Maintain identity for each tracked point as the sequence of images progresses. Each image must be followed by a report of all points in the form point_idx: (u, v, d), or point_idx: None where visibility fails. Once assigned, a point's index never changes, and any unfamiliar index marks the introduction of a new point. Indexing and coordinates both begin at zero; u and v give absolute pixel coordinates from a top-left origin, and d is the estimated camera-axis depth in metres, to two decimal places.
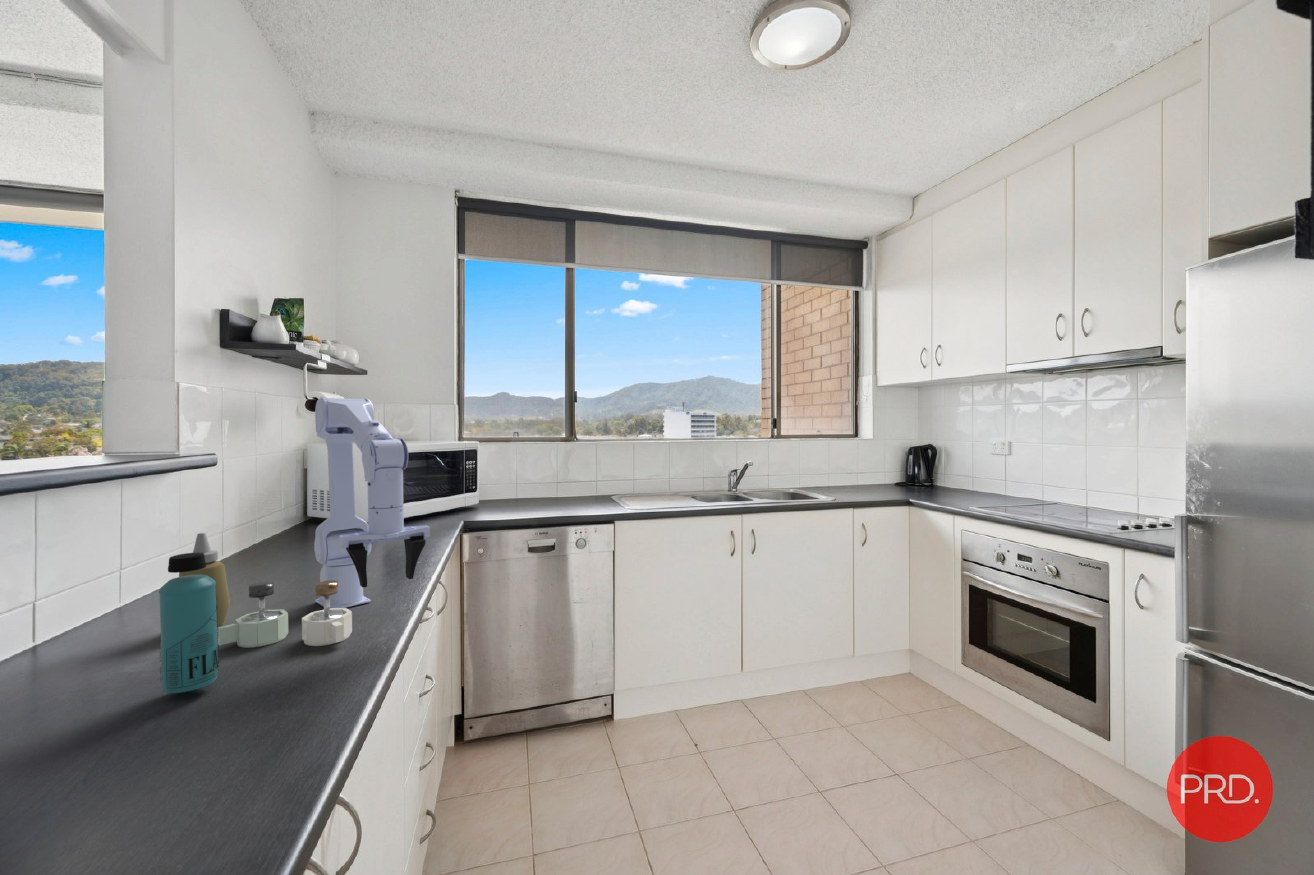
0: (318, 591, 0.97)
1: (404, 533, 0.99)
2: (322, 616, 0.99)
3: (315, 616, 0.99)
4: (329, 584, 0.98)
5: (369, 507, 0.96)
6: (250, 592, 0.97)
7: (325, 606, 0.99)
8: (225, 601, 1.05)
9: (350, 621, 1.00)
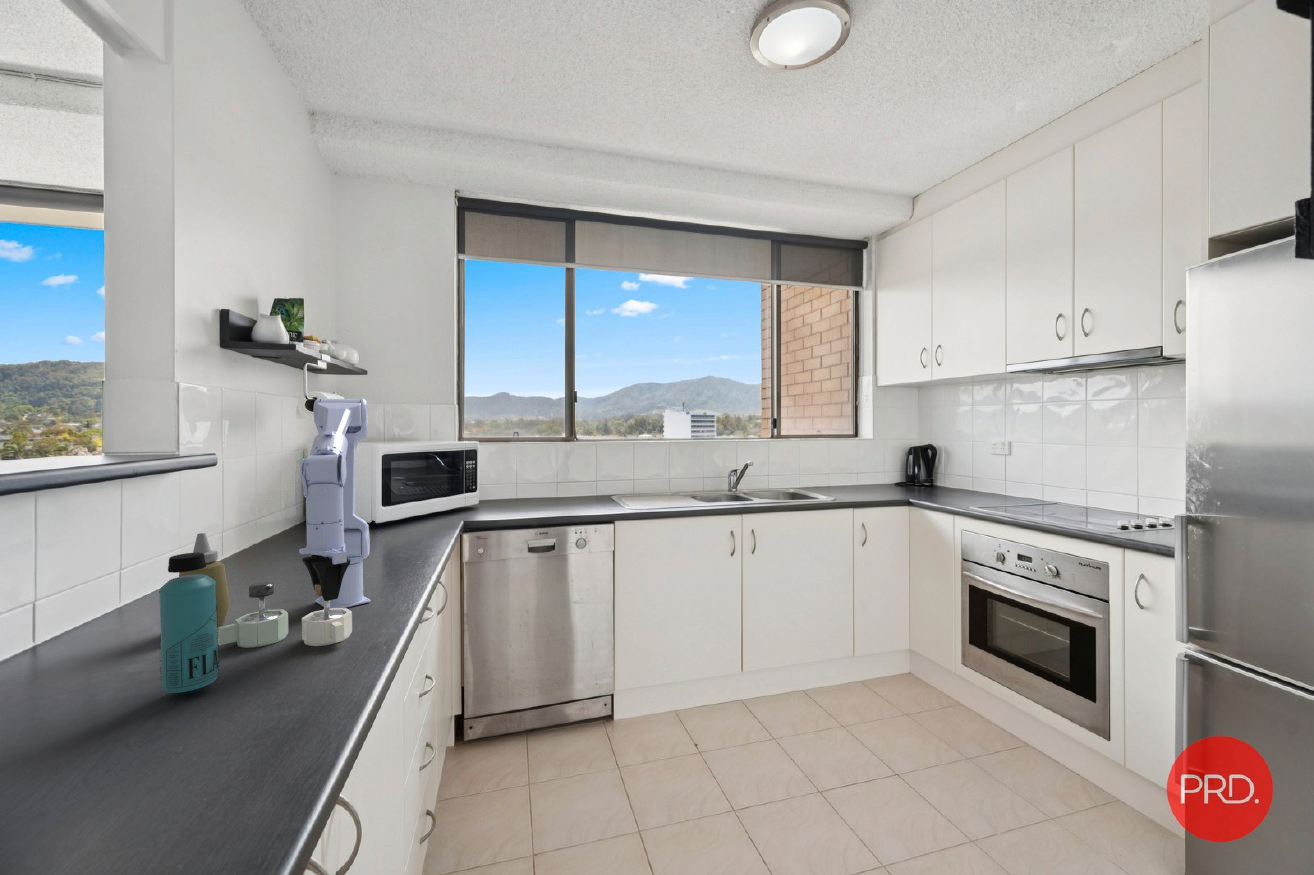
0: (318, 591, 0.97)
1: (315, 552, 0.95)
2: (322, 616, 0.99)
3: (315, 616, 0.99)
4: None
5: None
6: (250, 592, 0.97)
7: (325, 606, 0.99)
8: (225, 601, 1.05)
9: (350, 621, 1.00)
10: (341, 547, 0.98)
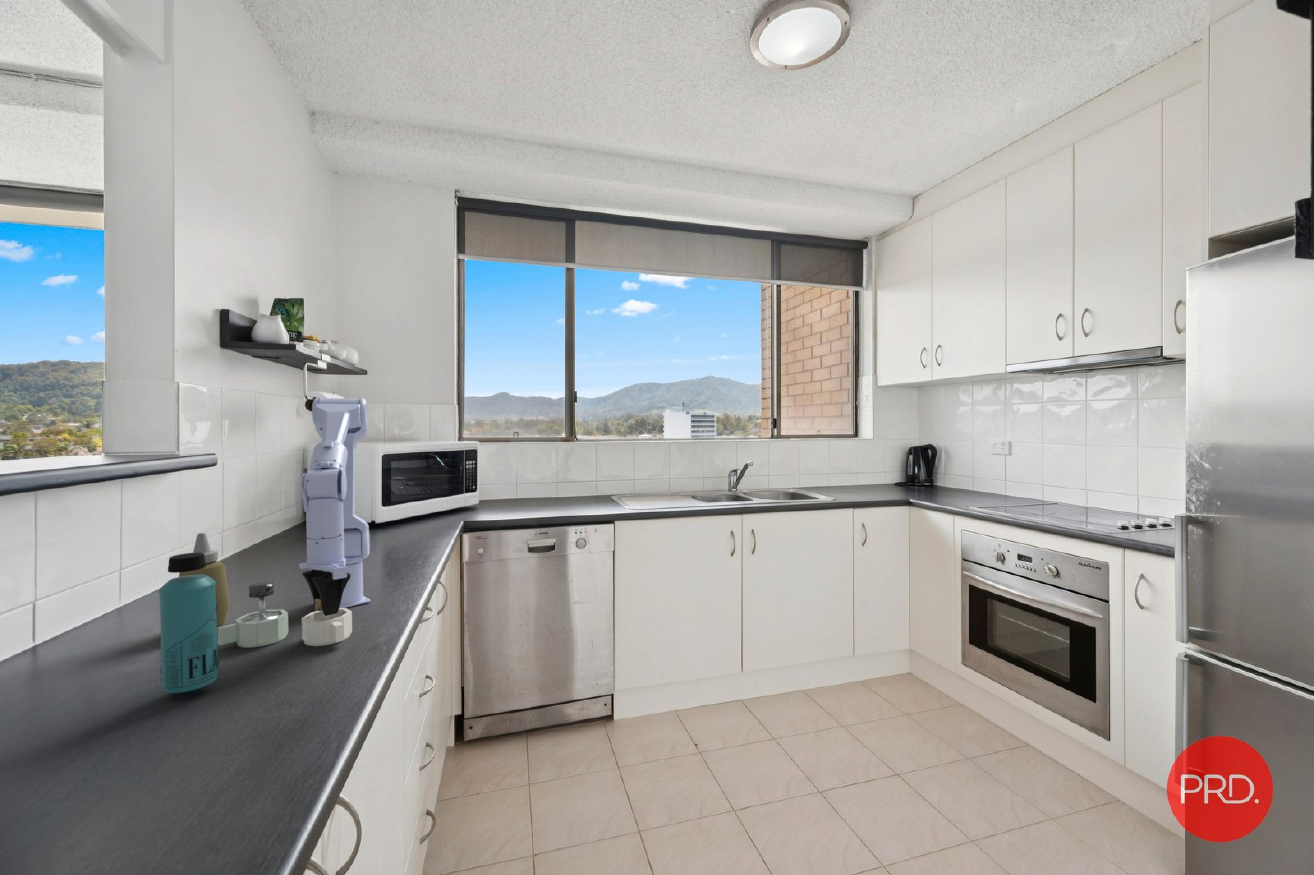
0: (319, 605, 0.97)
1: (315, 567, 0.95)
2: None
3: None
4: None
5: None
6: (250, 592, 0.97)
7: None
8: (225, 601, 1.05)
9: (350, 621, 1.00)
10: (341, 561, 0.98)
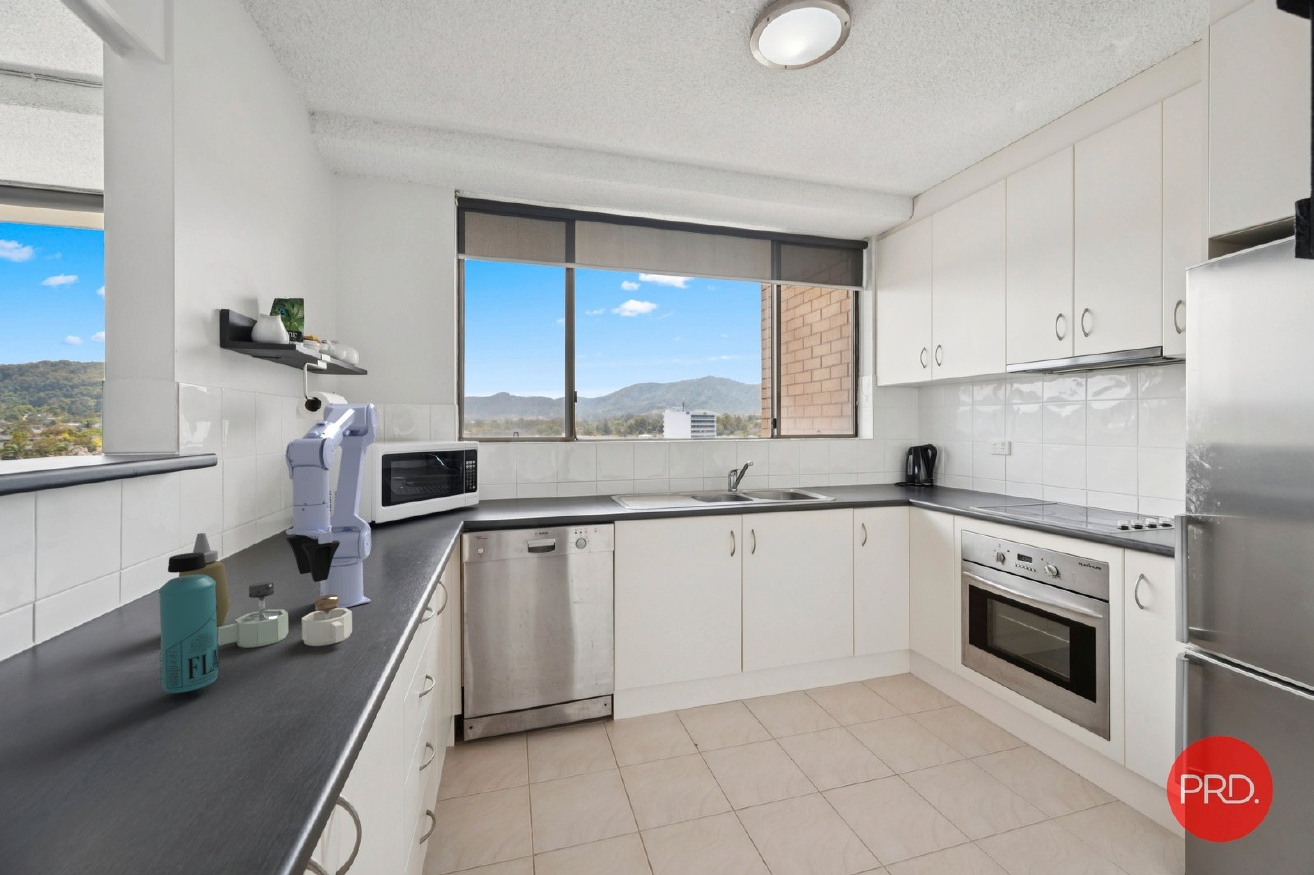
0: (319, 605, 0.97)
1: (301, 533, 0.98)
2: None
3: None
4: (329, 598, 0.98)
5: None
6: (250, 592, 0.97)
7: None
8: (225, 601, 1.05)
9: (350, 621, 1.00)
10: (327, 528, 1.01)
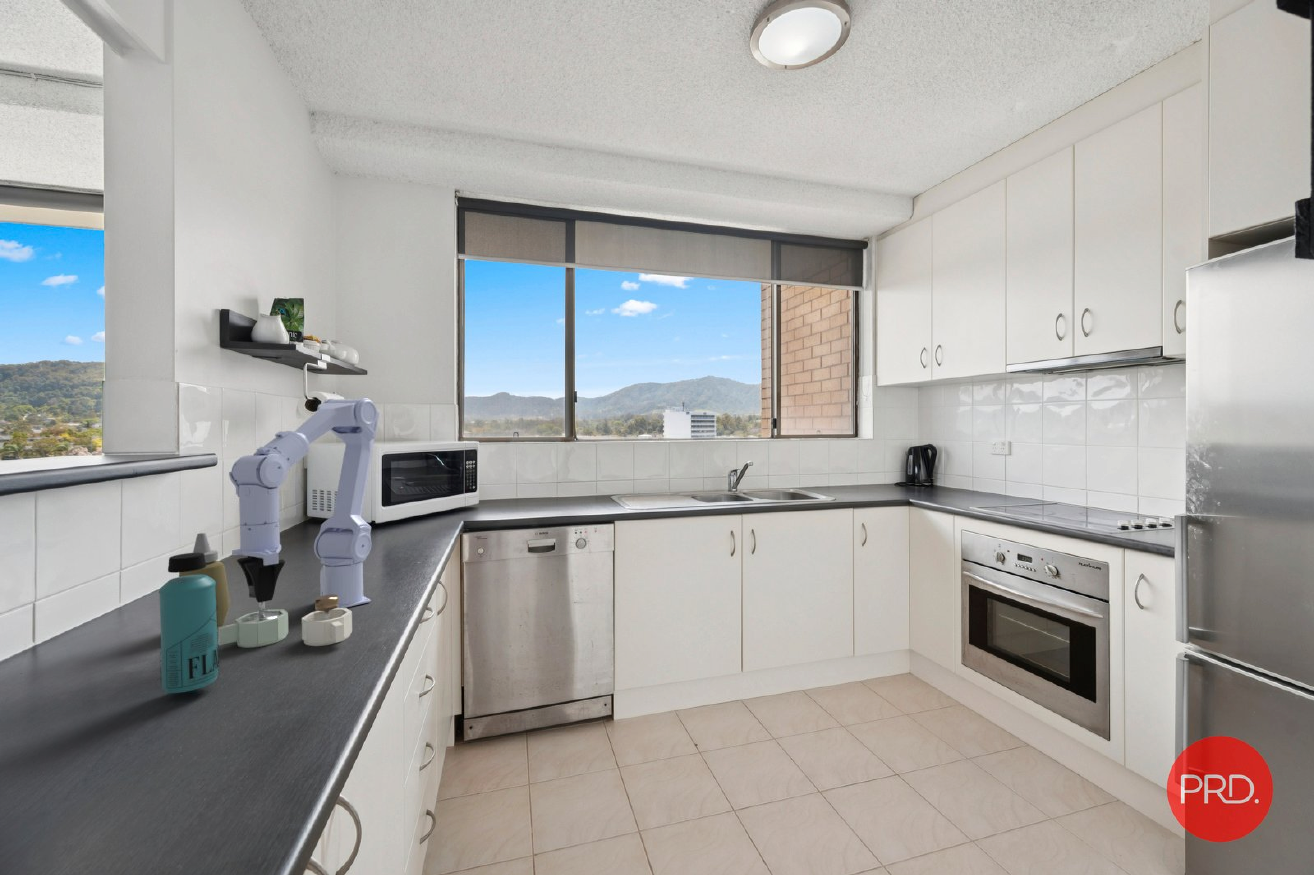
0: (319, 605, 0.97)
1: (247, 554, 0.95)
2: None
3: None
4: (329, 598, 0.98)
5: None
6: (250, 592, 0.97)
7: None
8: (225, 601, 1.05)
9: (350, 621, 1.00)
10: (276, 548, 0.98)
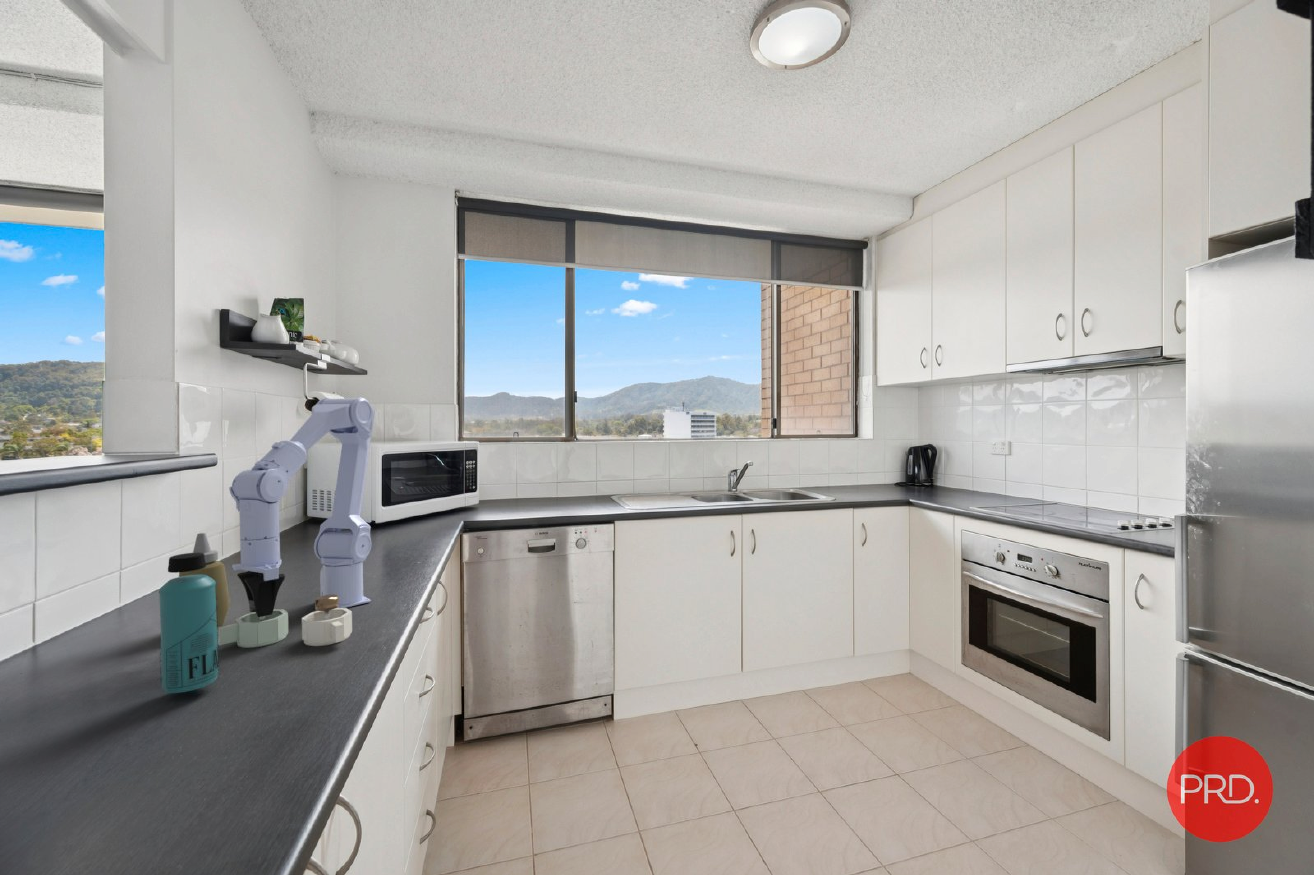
0: (319, 605, 0.97)
1: (247, 568, 0.95)
2: None
3: None
4: (329, 598, 0.98)
5: None
6: (250, 607, 0.97)
7: None
8: (225, 601, 1.05)
9: (350, 621, 1.00)
10: (276, 563, 0.98)
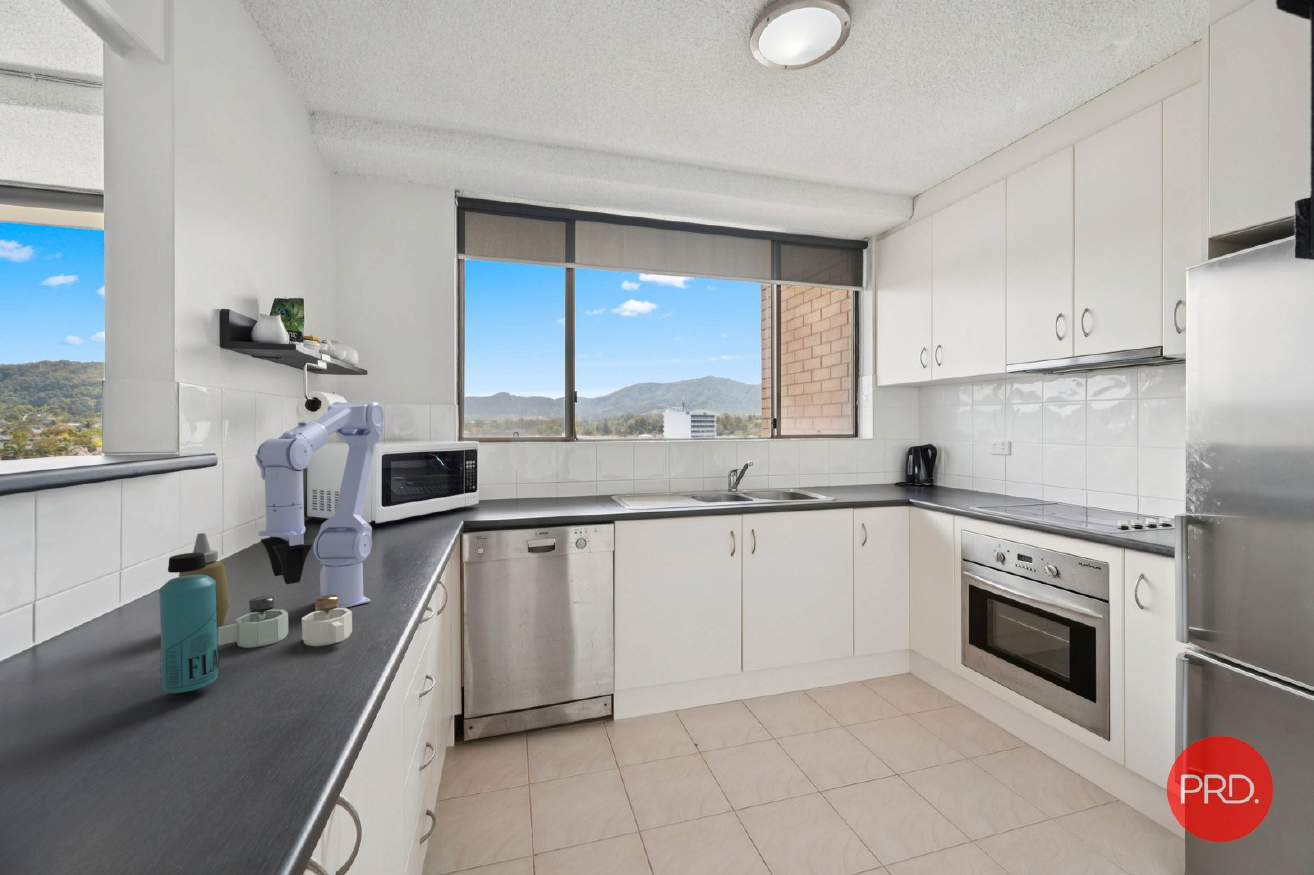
0: (319, 605, 0.97)
1: (273, 534, 0.97)
2: None
3: None
4: (329, 598, 0.98)
5: None
6: (250, 607, 0.97)
7: None
8: (225, 601, 1.05)
9: (350, 621, 1.00)
10: (300, 529, 1.00)
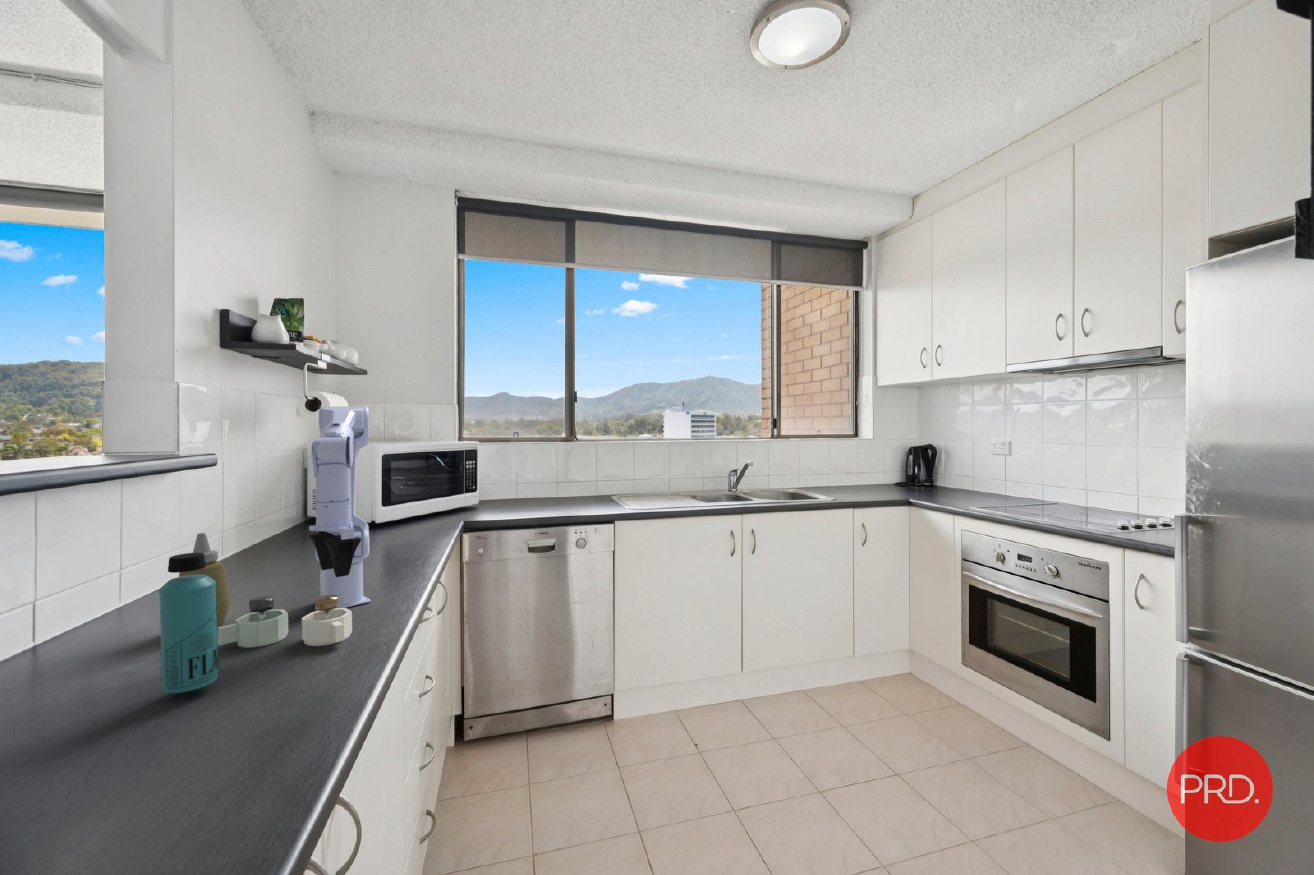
0: (319, 605, 0.97)
1: (324, 529, 1.01)
2: None
3: None
4: (329, 598, 0.98)
5: None
6: (250, 607, 0.97)
7: None
8: (225, 601, 1.05)
9: (350, 621, 1.00)
10: (349, 525, 1.04)
